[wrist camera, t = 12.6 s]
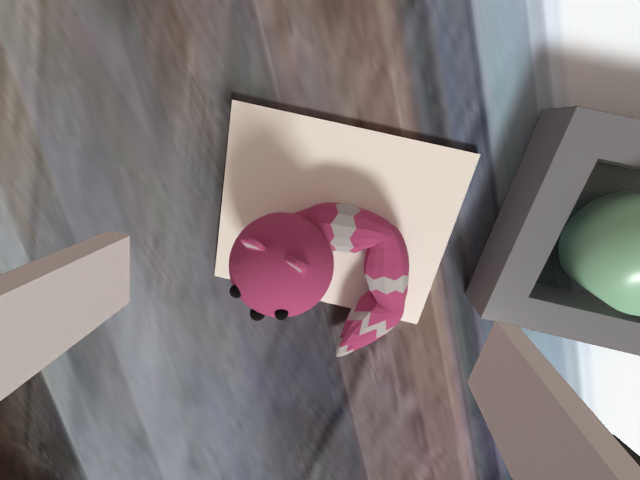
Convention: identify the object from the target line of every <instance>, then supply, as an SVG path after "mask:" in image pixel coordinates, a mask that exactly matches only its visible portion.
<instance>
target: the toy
mask: <svg viewBox="0 0 640 480" xmlns="http://www.w3.org/2000/svg"><path fill="white" fill-rule="evenodd" d="M364 249H367V251H366V254H365V259H364V264H363V267H364V276H365V278H366V281H367V283H368V286H369V289H370V290H369V291H367V292H366V293H365V294H364V295H363V296H361V297H360V298H359V300H358V301H357V302H356V303H355V304H354V306H353V307H352V309H351V311H350V313H349V315H348V317H347V319H346V322H345V325H344V328H343V330H342V333H341V336H340V339H339V341H338V344H337V347H336V356H337V357H340V356H344V355H346V354H348V353H351V352H353V351H355V350H357V349H359V348H361V347H363V346H365V345H367V344H370V343H372V342H374V341H375V340H377V339H378V338H380V337H382V336H383V335H385V334H386V333H387V332H389V331H390V330H391V329H392V328H393V327H395V326H396V325H397V324H398V322H399V321H400V320H401V318H402V316H403V313H404V307H405V299H406V296H407V290H408V281H409V255H408V250H407V246H406V243H405V241H404V239H403V236H402V234H401V233H400V231H399V230H398V228H397V227H395V226H394V225H393V224H391V223H390V222H389V221H388V220H386V219H384V218H383V217H381V216H379V215H377V214H375V213H373V212H371V211H368V210H365V209H363V208H359V207H355V206H351V205H347V204H343V203H335V202H326V203H319V204H316V205H314V206H312V207H309V208H307V209H304V210H301V211H298V212H296V213H286V212H275V213H270V214H267V215H264V216H262V217H260V218H258V219H256V220H254V221H253V222H251V223H250V224H249V225H247V226H246V227H245V228H244V229H243V230H242V231H241V233H240V234H239V235H238V237H237V238H236V240H235V242H234V244H233V246H232V249H231V252H230V257H229V275H230V279H231V283H232V285H233V286H231V288H230V294H231V296H232V297H234V298H239V297H240V299H241V300H242V301H243V302H244V303H245V304H246V305H247V306H248V307H250V308H251V310H250V316H251V318H252V319H253V320H256V321H259V320H261V319H263V318H264V316H265V315H266V316H270V317H276V318H277V319H278V320H284V319H286V318H287V317H292V316H296V315H299V314H301V313H304V312H305V311H307V310H309V309H310V308H312V307H313V306H315V305H316V304H317V303H318V302H319V301H320V300H321V299H322V297H323V296H324V295H325V293H326V292H327V290H328V288H329V286H330V283H331V280H332V277H333V271H334V257H333V251H340V252H349V253H356V252H358V251H361V250H364Z"/></svg>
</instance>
